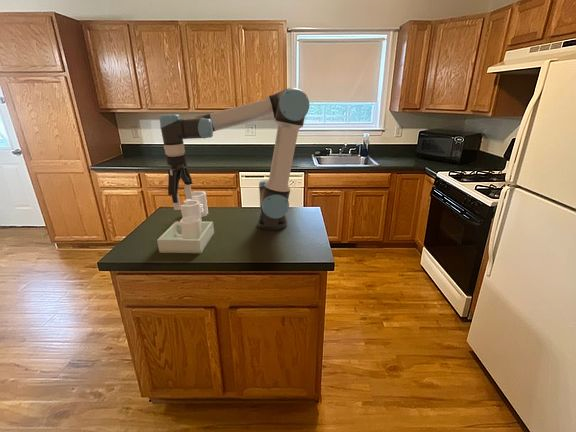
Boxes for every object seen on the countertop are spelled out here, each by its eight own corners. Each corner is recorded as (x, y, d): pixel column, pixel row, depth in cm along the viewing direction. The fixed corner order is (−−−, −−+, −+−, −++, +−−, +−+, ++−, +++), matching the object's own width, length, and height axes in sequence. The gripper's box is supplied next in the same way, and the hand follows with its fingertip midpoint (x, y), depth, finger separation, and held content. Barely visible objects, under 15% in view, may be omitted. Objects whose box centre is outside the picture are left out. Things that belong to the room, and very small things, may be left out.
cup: (200, 244, 135) (197, 223, 132) (172, 245, 135) (168, 223, 131) (204, 236, 143) (201, 215, 139) (178, 236, 143) (175, 216, 139)
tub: (214, 233, 148) (213, 221, 146) (201, 253, 129) (199, 240, 127) (177, 232, 149) (175, 221, 147) (159, 252, 130) (157, 239, 128)
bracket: (201, 228, 153) (198, 205, 149) (181, 229, 153) (178, 206, 148) (209, 210, 177) (207, 190, 172) (192, 211, 176) (189, 191, 171)
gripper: (178, 149, 136) (185, 194, 144) (152, 161, 113) (162, 214, 121) (194, 148, 136) (201, 194, 144) (172, 160, 113) (181, 214, 121)
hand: (183, 204), depth 132 cm, fingers open, 13 cm apart
